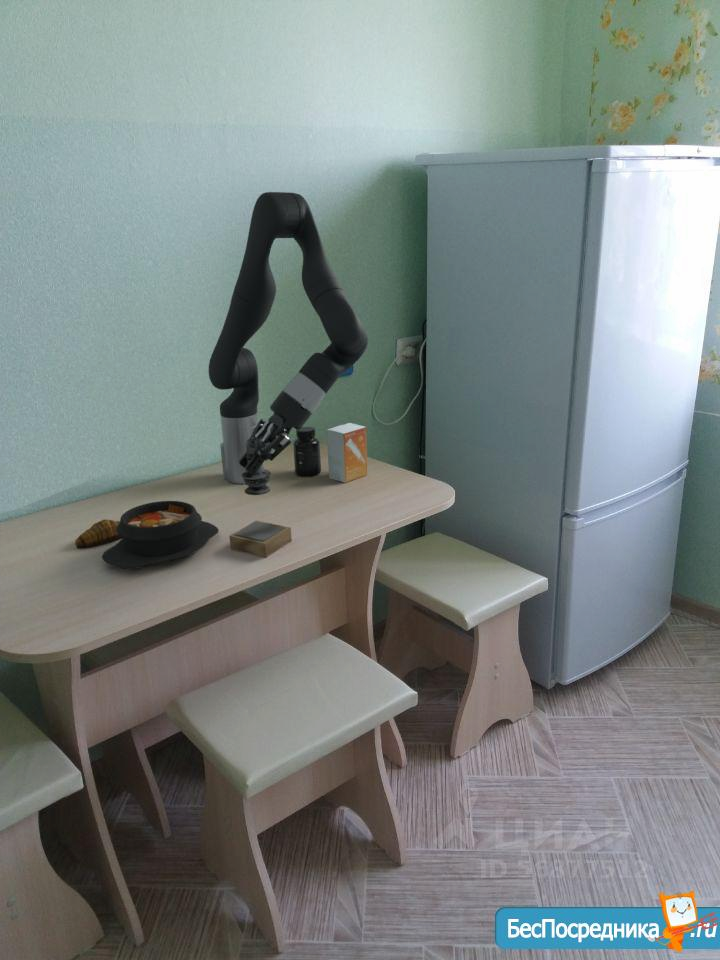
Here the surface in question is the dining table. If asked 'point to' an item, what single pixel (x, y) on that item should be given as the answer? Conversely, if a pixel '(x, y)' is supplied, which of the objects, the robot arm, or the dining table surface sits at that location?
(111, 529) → the croissant
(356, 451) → the small box
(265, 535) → the wooden picture frame
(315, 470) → the supplement bottle
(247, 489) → the dark grey chess piece
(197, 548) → the casserole
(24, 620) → the dining table surface
